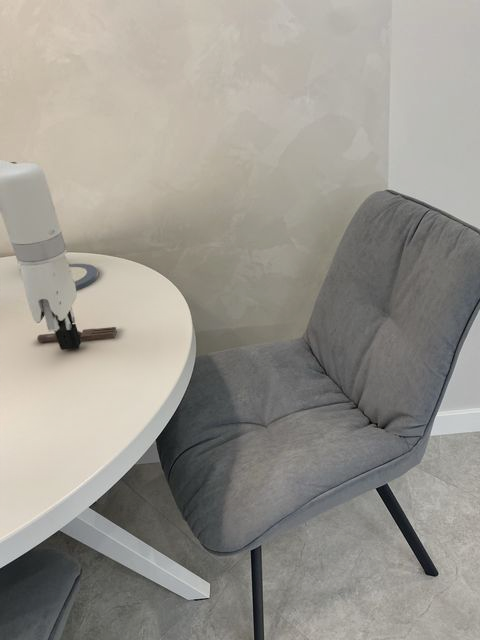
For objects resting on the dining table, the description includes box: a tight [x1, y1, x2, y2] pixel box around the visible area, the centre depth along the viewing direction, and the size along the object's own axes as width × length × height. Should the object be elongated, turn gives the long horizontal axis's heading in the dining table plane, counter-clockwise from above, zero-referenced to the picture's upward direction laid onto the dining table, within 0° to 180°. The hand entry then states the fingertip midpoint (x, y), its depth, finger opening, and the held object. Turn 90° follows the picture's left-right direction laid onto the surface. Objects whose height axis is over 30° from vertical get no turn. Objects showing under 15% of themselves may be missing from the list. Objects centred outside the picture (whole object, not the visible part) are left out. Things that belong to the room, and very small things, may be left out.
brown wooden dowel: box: [36, 326, 118, 343], centre depth 98 cm, size 14×3×1 cm, turn 93°
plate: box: [68, 263, 99, 291], centre depth 121 cm, size 14×14×1 cm
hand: (71, 346), depth 95 cm, fingers closed
